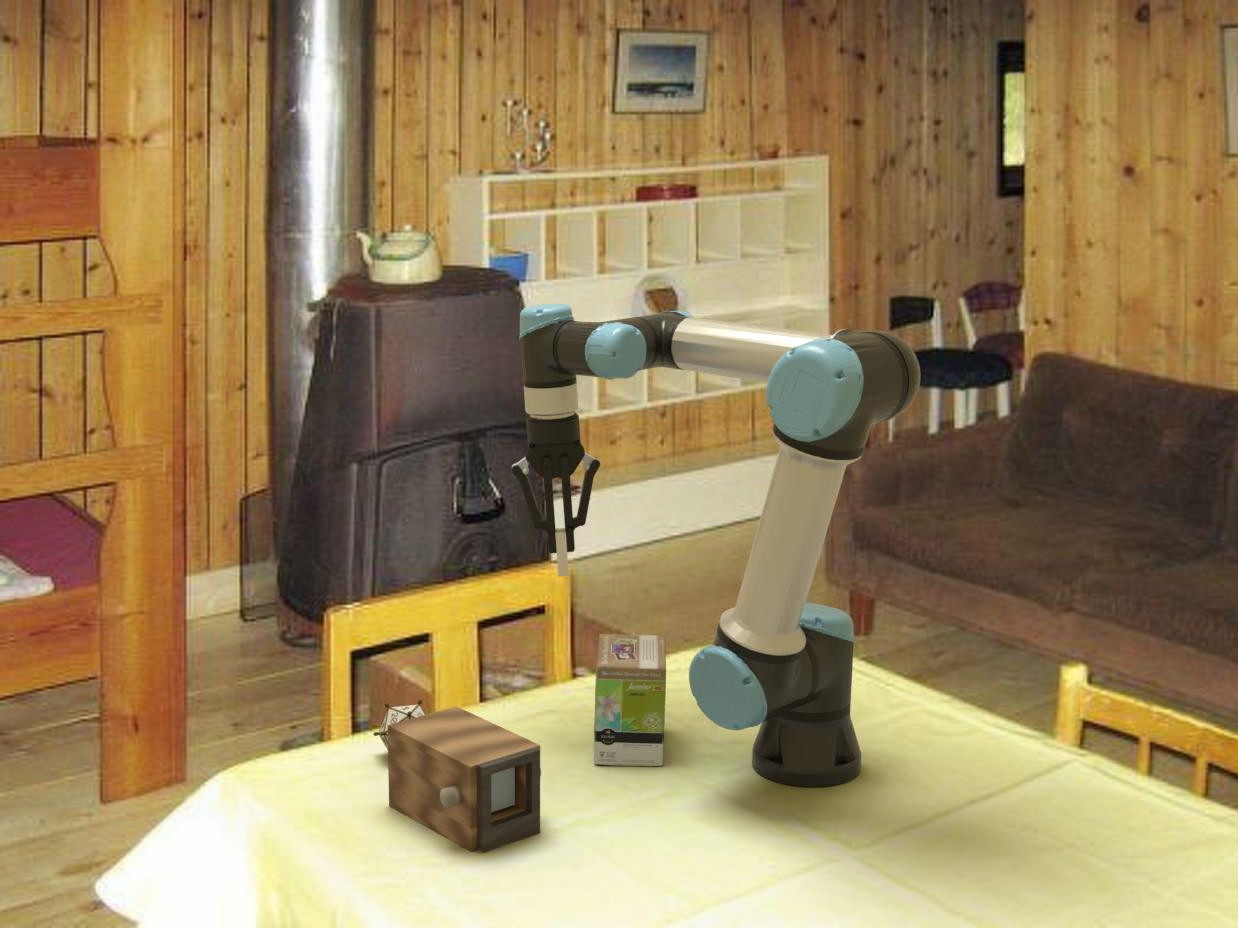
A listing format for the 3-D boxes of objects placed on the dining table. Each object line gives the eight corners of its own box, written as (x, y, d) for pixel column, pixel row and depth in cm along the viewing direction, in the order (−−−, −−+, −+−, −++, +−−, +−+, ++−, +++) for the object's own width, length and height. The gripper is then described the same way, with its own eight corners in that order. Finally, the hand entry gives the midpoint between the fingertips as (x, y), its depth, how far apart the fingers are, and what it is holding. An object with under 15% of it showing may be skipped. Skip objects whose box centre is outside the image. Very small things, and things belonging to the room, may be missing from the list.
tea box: (665, 767, 246) (667, 666, 243) (593, 766, 247) (593, 665, 243) (664, 727, 261) (665, 632, 258) (595, 726, 261) (596, 631, 258)
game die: (415, 786, 248) (423, 748, 241) (360, 761, 249) (367, 722, 242) (442, 738, 254) (451, 700, 247) (389, 713, 255) (396, 674, 248)
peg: (514, 804, 225) (514, 760, 224) (483, 814, 222) (482, 770, 220) (445, 768, 236) (445, 726, 235) (414, 778, 233) (413, 735, 231)
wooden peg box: (555, 826, 227) (556, 744, 224) (466, 858, 218) (465, 772, 215) (466, 781, 241) (465, 703, 238) (378, 808, 232) (377, 728, 229)
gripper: (596, 406, 255) (606, 563, 260) (506, 412, 255) (518, 570, 260) (599, 415, 248) (609, 577, 253) (506, 421, 247) (518, 584, 252)
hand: (563, 573), depth 256 cm, fingers closed
